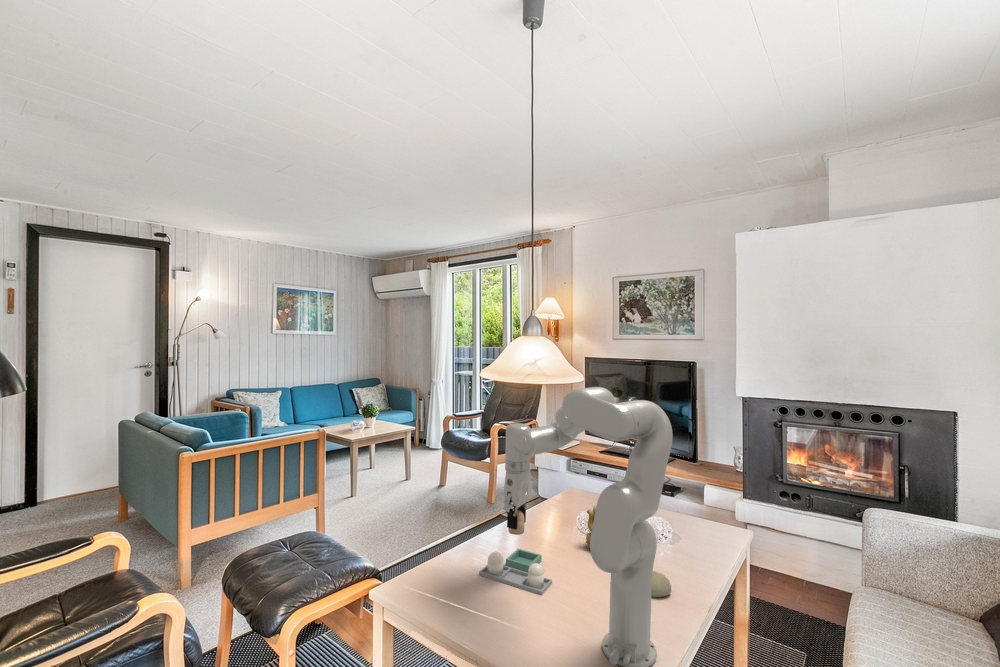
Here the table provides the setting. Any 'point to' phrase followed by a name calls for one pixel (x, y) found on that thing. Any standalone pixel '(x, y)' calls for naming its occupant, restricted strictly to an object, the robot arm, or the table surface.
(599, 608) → the table surface
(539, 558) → the egg holder
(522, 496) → the robot arm
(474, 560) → the table surface
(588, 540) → the decorative figurine
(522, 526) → the brown egg
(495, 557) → the cream egg left
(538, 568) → the cream egg right
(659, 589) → the sea urchin shell
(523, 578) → the egg carton
